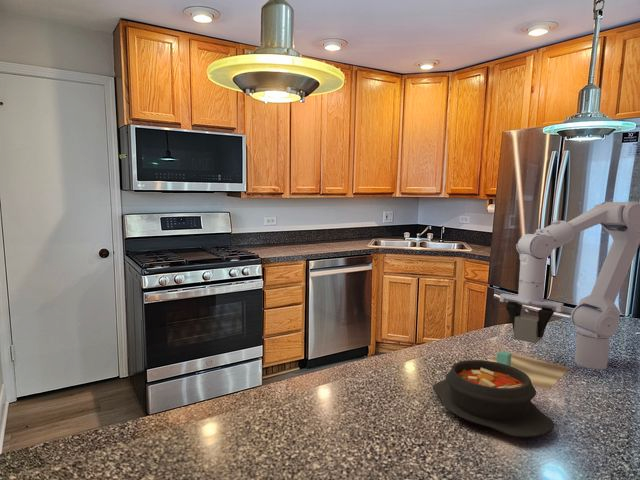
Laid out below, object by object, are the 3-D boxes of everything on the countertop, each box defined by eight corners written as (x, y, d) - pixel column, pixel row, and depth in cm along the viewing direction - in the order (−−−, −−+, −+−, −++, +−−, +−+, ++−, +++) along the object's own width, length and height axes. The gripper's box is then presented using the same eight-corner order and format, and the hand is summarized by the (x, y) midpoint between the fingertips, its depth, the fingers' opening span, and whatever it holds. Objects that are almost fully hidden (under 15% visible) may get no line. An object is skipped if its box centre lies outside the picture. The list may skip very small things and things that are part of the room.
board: (503, 353, 119) (503, 350, 119) (570, 370, 107) (570, 367, 107) (475, 371, 106) (475, 368, 106) (548, 392, 95) (548, 389, 94)
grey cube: (520, 334, 110) (522, 313, 110) (542, 339, 107) (543, 317, 106) (513, 338, 107) (514, 317, 106) (535, 343, 103) (536, 321, 102)
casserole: (576, 432, 78) (579, 389, 77) (507, 458, 70) (509, 410, 69) (474, 381, 100) (475, 347, 100) (412, 395, 92) (413, 359, 92)
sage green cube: (500, 365, 108) (501, 350, 108) (510, 368, 106) (511, 353, 106) (496, 368, 106) (497, 352, 106) (506, 371, 105) (507, 355, 104)
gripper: (496, 279, 108) (493, 330, 109) (558, 288, 98) (554, 344, 99) (506, 276, 113) (503, 325, 114) (567, 284, 103) (563, 338, 104)
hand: (528, 334), depth 107 cm, fingers closed on grey cube, 5 cm apart
